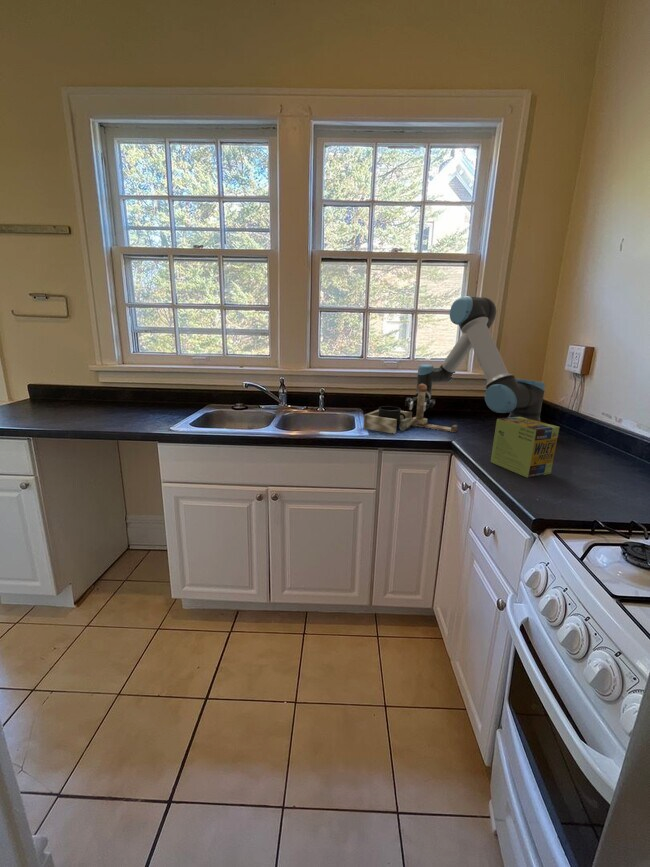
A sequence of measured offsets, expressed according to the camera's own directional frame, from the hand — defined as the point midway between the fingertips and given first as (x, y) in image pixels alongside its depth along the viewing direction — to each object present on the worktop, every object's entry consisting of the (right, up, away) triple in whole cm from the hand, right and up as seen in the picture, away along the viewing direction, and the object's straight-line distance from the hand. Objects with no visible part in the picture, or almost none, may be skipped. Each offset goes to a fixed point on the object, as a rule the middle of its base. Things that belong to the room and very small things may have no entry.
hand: (417, 407), depth 173 cm
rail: (+5, -8, +5) cm, 11 cm away
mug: (-11, -9, +1) cm, 15 cm away
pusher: (-1, -9, +2) cm, 9 cm away
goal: (-12, -8, +4) cm, 15 cm away
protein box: (+23, -23, -44) cm, 55 cm away
